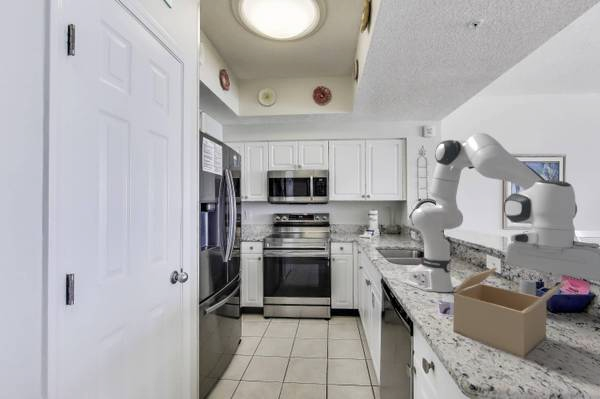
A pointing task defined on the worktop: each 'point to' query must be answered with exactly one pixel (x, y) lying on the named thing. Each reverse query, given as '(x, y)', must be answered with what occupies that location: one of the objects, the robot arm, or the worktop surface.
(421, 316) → the worktop surface
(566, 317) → the worktop surface
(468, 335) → the carton
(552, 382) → the worktop surface
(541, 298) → the flap
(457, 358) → the worktop surface
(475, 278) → the flap
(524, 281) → the beverage can
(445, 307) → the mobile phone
